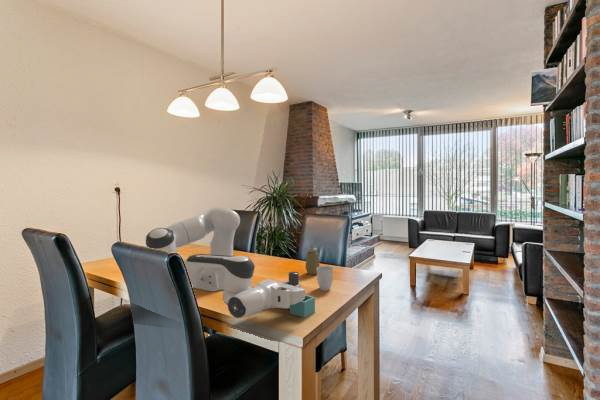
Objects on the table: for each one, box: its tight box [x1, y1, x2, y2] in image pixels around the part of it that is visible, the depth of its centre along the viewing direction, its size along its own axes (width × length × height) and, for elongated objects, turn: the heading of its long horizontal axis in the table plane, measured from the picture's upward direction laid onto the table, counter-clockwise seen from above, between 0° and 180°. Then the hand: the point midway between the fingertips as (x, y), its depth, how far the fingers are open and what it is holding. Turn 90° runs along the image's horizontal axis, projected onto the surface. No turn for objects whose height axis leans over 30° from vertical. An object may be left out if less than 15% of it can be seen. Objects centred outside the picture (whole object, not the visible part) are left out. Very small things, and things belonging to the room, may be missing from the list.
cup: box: [316, 265, 334, 291], centre depth 146 cm, size 8×8×10 cm
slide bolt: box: [288, 271, 305, 310], centre depth 124 cm, size 17×4×14 cm, turn 51°
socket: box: [289, 294, 316, 319], centre depth 118 cm, size 7×7×6 cm
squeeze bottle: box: [305, 241, 321, 276], centre depth 171 cm, size 8×8×18 cm
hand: (294, 284), depth 121 cm, fingers closed on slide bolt, 4 cm apart
